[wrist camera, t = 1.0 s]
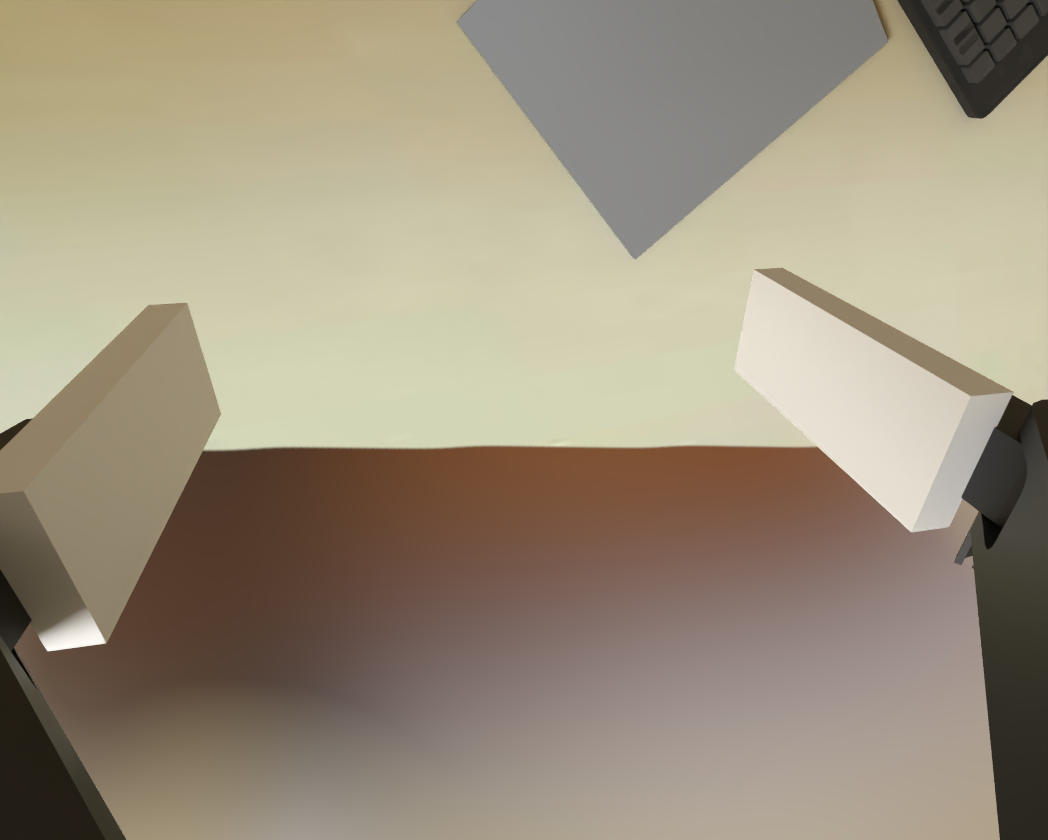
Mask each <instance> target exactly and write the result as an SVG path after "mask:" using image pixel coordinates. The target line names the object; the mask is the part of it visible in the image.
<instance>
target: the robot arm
mask: <svg viewBox="0 0 1048 840" xmlns="http://www.w3.org/2000/svg"><path fill="white" fill-rule="evenodd" d="M734 370H735V371H736V372H737V373H738V374H739V375H740V376H741V377H742V378H743V379H745V380H746V381H747V382H748V383H749V384H750V385H751V386H752V387H753V388H754V389H755V390H757V391H758V392H759V393H760V394H761V395H762V396H763V397H764V398H765V399H766V400H767V401H769V402H770V403H771V404H772V405H773V406H774V407H775V408H776V409H777V410H778V411H779V412H781V413H782V414H783V415H784V416H785V417H786V418H787V419H788V420H789V421H790V422H791V423H793V424H794V425H795V426H796V427H797V428H798V429H799V430H800V431H801V432H802V433H803V434H805V435H806V436H807V437H808V438H809V439H810V440H811V441H812V442H813V443H814V444H815V445H817V446H818V447H819V448H820V449H821V450H822V451H823V452H824V453H825V454H826V455H827V456H829V457H830V458H831V459H832V460H833V461H834V462H835V463H836V464H837V465H838V466H839V467H841V468H842V469H843V470H844V471H845V472H846V473H847V474H848V475H850V476H851V478H853V479H854V480H855V481H856V482H857V483H858V484H859V485H860V486H861V487H862V488H863V489H865V490H866V491H867V492H868V493H869V494H870V495H871V496H872V497H874V499H876V500H877V501H878V502H879V503H880V504H881V505H882V506H883V507H884V508H885V509H887V510H888V511H889V512H890V513H891V514H892V515H893V516H894V517H895V518H896V519H897V520H899V521H900V522H901V523H902V524H903V525H904V526H905V527H906V528H907V529H908V530H909V531H911V532H916V531H924V530H931V529H939V528H946V527H949V526H950V524H951V522H952V519H953V518H954V515H955V513H956V511H957V509H958V507H959V505H960V503H961V501H962V499H964V500H965V501H967V502H968V503H969V504H971V505H972V506H973V507H974V508H976V509H977V510H978V511H979V512H978V514H977V516H976V518H975V520H974V522H973V524H972V526H971V528H970V530H969V532H968V534H967V536H966V538H965V540H964V542H963V544H962V546H961V548H960V550H959V552H958V554H957V556H956V559H955V562H954V563H957V564H960V565H962V563H963V561H964V559H965V558H966V557H969V556H973V563H974V565H973V566H972V568H973V569H974V574H975V584H976V594H977V605H978V615H979V626H980V636H981V647H982V656H983V667H984V676H985V677H984V678H985V688H986V699H987V709H988V720H989V730H990V741H991V750H992V761H993V771H994V782H995V792H996V802H997V814H998V824H999V834H1000V840H1048V400H1040V401H1038V402H1035V403H1033V405H1032V406H1031V405H1030V404H1028V403H1026V402H1024V401H1022V400H1020V399H1019V398H1017V397H1015V396H1013V395H1012V394H1013V391H1011V390H1009V389H1007V388H1005V387H1003V386H1001V385H1000V384H998V383H996V382H994V381H992V380H990V379H988V378H987V377H985V376H983V375H981V374H979V373H977V372H975V371H974V370H972V369H970V368H968V367H966V366H964V365H962V364H960V363H959V362H957V361H955V360H953V359H951V358H949V357H947V356H946V355H944V354H942V353H940V352H938V351H936V350H934V349H933V348H931V347H929V346H927V345H925V344H923V343H921V342H919V341H918V340H916V339H914V338H912V337H910V336H908V335H906V334H905V333H903V332H901V331H899V330H897V329H895V328H893V327H892V326H890V325H888V324H886V323H884V322H882V321H880V320H878V319H877V318H875V317H873V316H871V315H869V314H867V313H865V312H864V311H862V310H860V309H858V308H856V307H854V306H852V305H851V304H849V303H847V302H845V301H843V300H841V299H839V298H837V297H836V296H834V295H832V294H830V293H828V292H826V291H824V290H823V289H821V288H819V287H817V286H815V285H813V284H811V283H810V282H808V281H806V280H804V279H802V278H800V277H798V276H796V275H795V274H793V273H791V272H789V271H787V270H785V269H783V268H771V269H754V271H753V276H752V281H751V286H750V291H749V296H748V301H747V306H746V311H745V316H744V321H743V326H742V331H741V336H740V341H739V346H738V351H737V356H736V361H735V366H734ZM220 415H221V412H220V409H219V406H218V403H217V399H216V396H215V393H214V389H213V386H212V383H211V380H210V376H209V373H208V370H207V366H206V363H205V360H204V357H203V353H202V350H201V347H200V343H199V340H198V337H197V334H196V330H195V327H194V324H193V320H192V317H191V314H190V311H189V307H188V304H187V303H177V304H160V305H148V306H147V307H146V308H145V309H144V310H143V311H142V312H141V313H140V314H139V315H138V316H137V317H136V318H135V319H134V320H133V321H132V322H131V323H130V324H129V325H128V326H127V327H126V328H125V329H124V330H123V331H122V332H121V333H120V334H119V335H118V336H117V337H116V338H115V339H114V340H113V341H112V342H111V343H109V344H108V345H107V346H106V347H105V348H104V349H103V350H102V351H101V352H100V353H99V354H98V355H97V356H96V357H95V358H94V359H93V360H92V361H91V362H90V363H89V364H88V365H87V366H86V367H85V368H84V369H83V370H82V371H81V372H80V373H79V374H78V375H77V376H76V377H75V378H74V379H73V380H72V381H71V382H70V383H69V384H68V385H67V386H66V387H65V388H64V389H63V390H62V391H61V392H60V393H59V394H57V395H56V396H55V397H54V398H53V399H52V400H51V401H50V402H49V403H48V404H47V405H46V406H45V407H44V408H43V409H42V410H41V411H40V412H39V413H38V414H37V415H36V416H35V417H34V418H33V419H26V420H24V421H22V422H20V423H18V424H17V425H15V426H13V427H11V428H10V429H8V430H6V431H4V432H2V433H1V434H0V840H126V838H125V836H124V835H123V833H122V831H121V830H120V828H119V826H118V825H117V823H116V821H115V819H114V817H113V816H112V814H111V812H110V810H109V809H108V807H107V805H106V804H105V802H104V800H103V798H102V797H101V795H100V793H99V791H98V790H97V788H96V786H95V784H94V783H93V781H92V779H91V778H90V776H89V774H88V772H87V771H86V769H85V767H84V766H83V764H82V762H81V760H80V759H79V757H78V755H77V753H76V752H75V750H74V748H73V747H72V745H71V743H70V741H69V739H68V738H67V736H66V734H65V733H64V731H63V729H62V727H61V726H60V724H59V722H58V721H57V719H56V717H55V715H54V714H53V712H52V710H51V708H50V707H49V705H48V703H47V701H46V700H45V698H44V696H43V694H42V693H41V691H40V689H39V688H38V686H37V684H36V682H35V681H34V679H33V677H32V676H31V674H30V672H29V670H28V669H27V667H26V665H25V663H24V662H23V661H22V659H21V657H20V656H19V654H18V653H17V651H16V650H15V648H14V646H15V645H16V643H17V642H18V640H19V639H20V637H21V636H22V634H23V632H24V631H25V630H26V628H27V626H28V625H29V623H30V624H31V626H32V627H33V629H34V630H35V632H36V633H37V635H38V637H39V638H40V640H41V641H42V643H43V645H44V646H45V648H46V649H47V651H53V650H60V649H68V648H75V647H82V646H90V645H97V644H103V643H107V641H108V639H109V637H110V635H111V633H112V631H113V629H114V627H115V625H116V623H117V621H118V619H119V617H120V615H121V613H122V611H123V609H124V607H125V604H126V603H127V601H128V599H129V597H130V595H131V593H132V591H133V589H134V587H135V585H136V583H137V581H138V579H139V577H140V575H141V573H142V571H143V569H144V567H145V565H146V563H147V561H148V559H149V557H150V555H151V553H152V551H153V549H154V547H155V545H156V543H157V541H158V539H159V537H160V535H161V533H162V531H163V529H164V527H165V525H166V523H167V521H168V519H169V517H170V515H171V513H172V511H173V509H174V507H175V505H176V503H177V501H178V499H179V497H180V495H181V493H182V491H183V489H184V487H185V485H186V482H187V481H188V479H189V477H190V475H191V473H192V471H193V469H194V467H195V465H196V463H197V461H198V459H199V457H200V455H201V453H202V451H203V449H204V447H205V445H206V443H207V441H208V439H209V437H210V435H211V433H212V431H213V429H214V427H215V425H216V423H217V421H218V419H219V417H220Z"/></svg>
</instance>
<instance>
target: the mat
mask: <svg viewBox="0 0 1048 840" xmlns="http://www.w3.org/2000/svg"><path fill="white" fill-rule="evenodd" d="M456 23H457V24H458V25H459V27H460V28H461V29H462V31H463V32H464V33H465V35H466V36H467V37H468V39H469V40H470V41H471V43H472V44H473V45H474V47H475V48H476V49H477V51H478V52H479V53H480V55H481V56H482V57H483V59H484V60H485V61H486V63H487V64H488V65H489V67H490V68H491V69H492V71H493V72H494V73H495V75H496V76H497V77H498V79H499V80H500V81H501V83H502V84H503V85H504V87H505V88H506V89H507V91H508V92H509V93H510V95H511V96H512V97H513V99H514V100H515V101H516V103H517V104H518V105H519V107H520V108H521V109H522V111H523V112H524V113H525V115H526V116H527V117H528V119H529V120H530V121H531V123H532V124H533V125H534V127H535V128H536V129H537V131H538V132H539V133H540V135H541V136H542V137H543V139H544V140H545V141H546V143H547V144H548V145H549V147H550V148H551V149H552V151H553V152H554V153H555V155H556V156H557V157H558V159H559V160H560V161H561V163H562V164H563V165H564V167H565V168H566V169H567V171H568V172H569V173H570V175H571V176H572V177H573V179H574V180H575V181H576V183H577V184H578V185H579V187H580V188H581V189H582V191H583V192H584V193H585V195H586V196H587V197H588V199H589V200H590V201H591V203H592V204H593V205H594V207H595V208H596V209H597V211H598V212H599V213H600V215H601V216H602V217H603V219H604V220H605V221H606V223H607V224H608V225H609V227H610V228H611V229H612V231H613V232H614V233H615V235H616V236H617V237H618V239H619V240H620V241H621V243H622V244H623V245H624V247H625V248H626V249H627V251H628V252H629V253H630V255H631V256H632V257H633V258H634V259H636V258H638V257H639V256H640V255H641V254H642V253H643V252H645V251H646V250H647V249H648V248H649V247H650V246H652V245H653V244H654V243H655V242H656V241H657V240H659V239H660V238H661V237H662V236H663V235H664V234H666V233H667V232H668V231H669V230H670V229H671V228H672V227H674V226H675V225H676V224H677V223H678V222H679V221H681V220H682V219H683V218H684V217H685V216H686V215H688V214H689V213H690V212H691V211H692V210H693V209H695V208H696V207H697V206H698V205H699V204H700V203H702V202H703V201H704V200H705V199H706V198H707V197H709V196H710V195H711V194H712V193H713V192H714V191H716V190H717V189H718V188H719V187H720V186H721V185H723V184H724V183H725V182H726V181H727V180H728V179H729V178H731V177H732V176H733V175H734V174H735V173H736V172H738V171H739V170H740V169H741V168H742V167H743V166H745V165H746V164H747V163H748V162H749V161H750V160H752V159H753V158H754V157H755V156H756V155H757V154H759V153H760V152H761V151H762V150H763V149H764V148H766V147H767V146H768V145H769V144H770V143H771V142H773V141H774V140H775V139H776V138H777V137H778V136H779V135H781V134H782V133H783V132H784V131H785V130H786V129H788V128H789V127H790V126H791V125H792V124H793V123H795V122H796V121H797V120H798V119H799V118H800V117H802V116H803V115H804V114H805V113H806V112H807V111H809V110H810V109H811V108H812V107H813V106H814V105H816V104H817V103H818V102H819V101H820V100H821V99H823V98H824V97H825V96H826V95H827V94H828V93H830V92H831V91H832V90H833V89H834V88H835V87H836V86H838V85H839V84H840V83H841V82H842V81H843V80H845V79H846V78H847V77H848V76H849V75H850V74H852V73H853V72H854V71H855V70H856V69H857V68H859V67H860V66H861V65H862V64H863V63H864V62H866V61H867V60H868V59H869V58H870V57H871V56H873V55H874V54H875V53H876V52H877V51H878V50H880V49H881V48H882V47H883V46H884V45H885V44H886V43H888V39H887V37H886V34H885V32H884V29H883V26H882V24H881V21H880V18H879V16H878V13H877V10H876V8H875V5H874V2H873V0H477V1H476V2H475V3H474V4H473V5H472V7H471V8H470V9H469V10H468V11H467V12H466V13H465V14H464V15H463V16H462V17H461V18H460V19H459V20H458V21H457V22H456Z"/></svg>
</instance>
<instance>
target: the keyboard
mask: <svg viewBox="0 0 1048 840" xmlns="http://www.w3.org/2000/svg"><path fill="white" fill-rule="evenodd" d="M898 2H899V4H900V5H901V7H902V9H903V10H904V12H905V14H906V15H907V17H908V19H909V20H910V22H911V23H912V25H913V27H914V28H915V30H916V32H917V33H918V35H919V37H920V38H921V40H922V42H923V43H924V45H925V47H926V48H927V50H928V52H929V53H930V55H931V57H932V58H933V60H934V62H935V63H936V65H937V67H938V68H939V70H940V72H941V73H942V75H943V77H944V78H945V80H946V82H947V83H948V85H949V87H950V88H951V90H952V92H953V93H954V95H955V97H956V98H957V100H958V102H959V103H960V105H961V107H962V108H963V110H964V112H965V113H966V115H967V116H968V117H971V118H981V119H982V118H984V117H986V116H987V115H988V114H990V113H991V112H992V111H993V110H994V109H995V108H996V107H997V106H998V105H999V104H1000V103H1001V102H1002V101H1003V100H1004V99H1005V98H1006V97H1007V96H1008V95H1009V94H1010V93H1011V91H1012V90H1013V89H1014V88H1015V87H1016V86H1017V85H1018V84H1019V83H1020V82H1021V81H1022V80H1023V79H1024V78H1025V77H1026V76H1027V75H1028V74H1029V73H1030V72H1031V71H1032V70H1033V69H1034V68H1035V67H1036V66H1037V65H1038V64H1039V63H1040V62H1041V61H1042V60H1043V59H1044V58H1045V57H1046V56H1047V55H1048V0H898Z"/></svg>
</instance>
